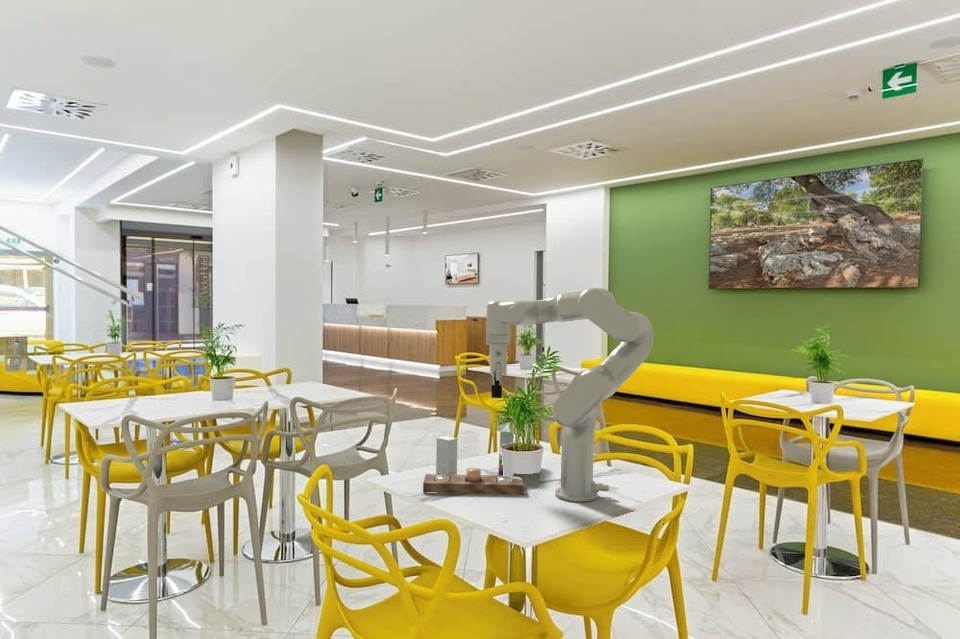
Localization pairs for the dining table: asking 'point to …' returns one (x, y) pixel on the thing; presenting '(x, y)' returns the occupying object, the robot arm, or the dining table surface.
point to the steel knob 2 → (503, 479)
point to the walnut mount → (472, 485)
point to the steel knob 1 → (442, 478)
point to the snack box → (504, 439)
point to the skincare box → (446, 455)
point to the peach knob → (473, 475)
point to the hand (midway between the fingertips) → (496, 397)
